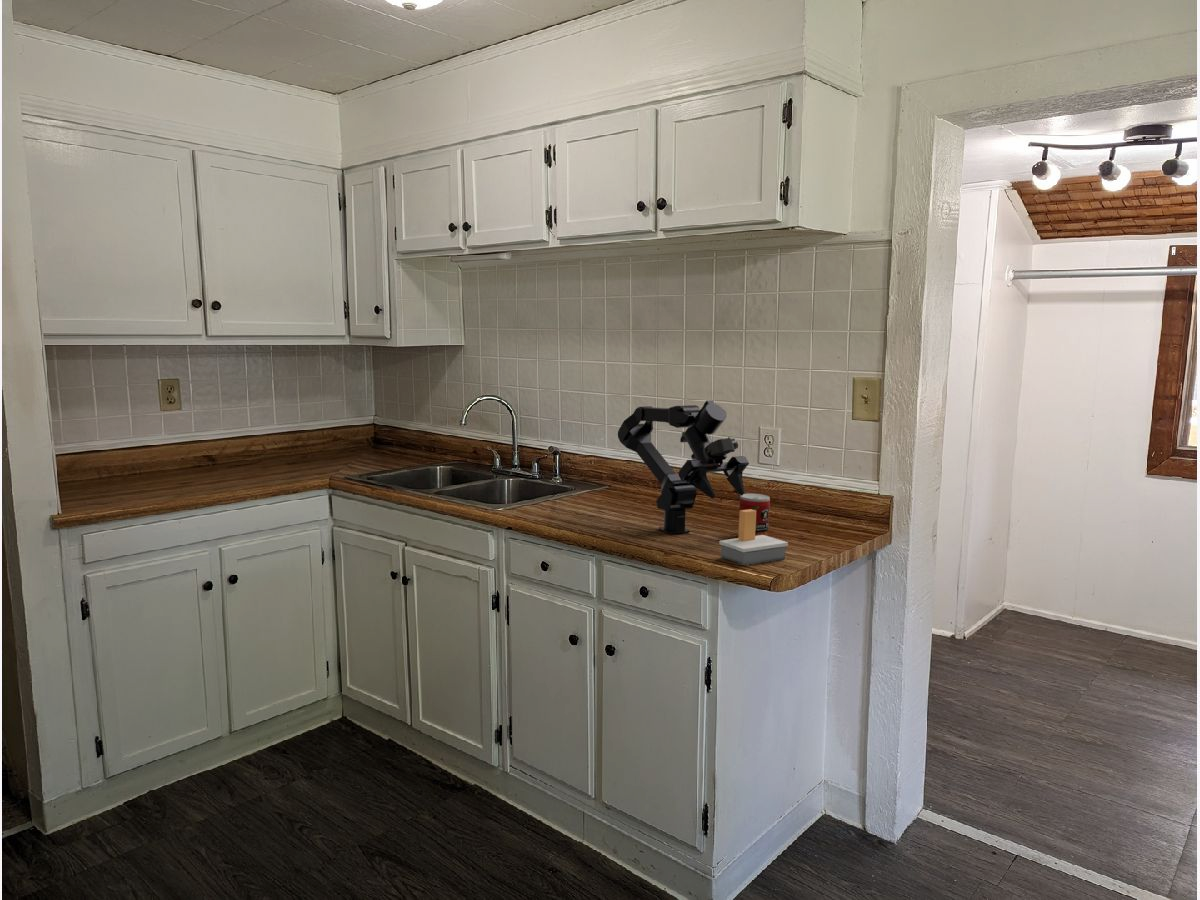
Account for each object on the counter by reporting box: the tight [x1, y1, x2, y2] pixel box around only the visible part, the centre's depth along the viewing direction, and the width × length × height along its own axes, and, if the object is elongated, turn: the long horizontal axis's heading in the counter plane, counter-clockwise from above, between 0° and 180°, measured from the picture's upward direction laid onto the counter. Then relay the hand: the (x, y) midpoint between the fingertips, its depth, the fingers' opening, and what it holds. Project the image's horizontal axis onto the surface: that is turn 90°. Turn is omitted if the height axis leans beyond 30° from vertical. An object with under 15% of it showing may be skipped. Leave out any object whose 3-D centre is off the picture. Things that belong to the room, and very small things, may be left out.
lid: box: [718, 509, 789, 552], centre depth 202 cm, size 9×14×8 cm, turn 122°
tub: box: [720, 544, 787, 566], centre depth 203 cm, size 8×13×3 cm, turn 122°
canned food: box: [737, 493, 771, 536], centre depth 224 cm, size 8×8×11 cm
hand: (728, 496), depth 210 cm, fingers open, 9 cm apart
